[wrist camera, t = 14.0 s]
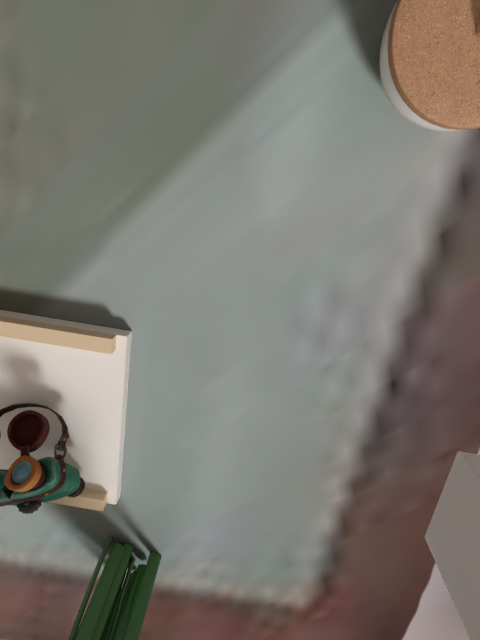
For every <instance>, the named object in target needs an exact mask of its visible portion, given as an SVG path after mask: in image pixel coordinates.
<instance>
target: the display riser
mask: <svg viewBox="0 0 480 640" xmlns="http://www.w3.org/2000/svg"><path fill="white" fill-rule="evenodd" d="M131 338H132V331H128V330H122V329H116V328H110V327H103V326H97V325H91V324H85V323H79V322H73V321H67V320H60V319H54V318H48V317H42V316H36V315H30V314H24V313H17V312H11V311H5V310H0V409H3V408H5V407H7V406H10V405H13V404H21V403H35V404H40V405H44V406H47V407H49V408H51V409H52V410H54V411H55V412H56V413H58V414H59V415H61V416H62V417H63V419H64V421H65V423H66V425H67V427H68V433H69V438H68V440H67V442H66V448H67V453H66V456H65V458H64V459H63V460H64V462H65V463H67V464H69V465H71V466H73V467H75V468H77V469H78V470H79V472H80V477H81V478H83V480H84V482H85V488H84V491H83V492H82V493H81V494H80V495H79V496H77V497H74V498H71V497H67V496H66V497H63V498H60V499H57V500H53V501H47V502H50V503H56V504H62V505H68V506H74V507H80V508H86V509H92V510H98V511H103V510H104V508H105V506H106V504H107V503H109V504H115V505H116V503H117V501H118V499H119V497H120V493H121V479H122V465H123V451H124V437H125V423H126V408H127V394H128V380H129V366H130V352H131ZM26 410H33V411H36V412H38V413H40V414H42V415H44V416H45V417H46V418H47V420H48V421H49V425H50V430H49V434H48V437H47V439H46V441H45V442H44V443H43V445H42V446H41V447H40V448H39V449H37V450H36V451H34V452H31V453H30V456H31V457H33V458H35V459H36V460H38V459H41V458H45V457H55V455H54V447H55V445H56V444H57V443H58V441H59V439H60V437H61V435H62V425H61V423H60V421H59V419H58V417H57V415H56V414H55V413H53V412H52V411H50V410H49V409H45V408H41V407H25V408H18V409H15V410H13V411H10V412H8V413H5V414H3V415H2V416H1V417H0V432H1V438H0V469H3V470H5V469H6V470H8V469H9V468H10V467H11V465H12V464H13V463H14V462H15V460H17V459H18V458H19V457H21V455H20V450H18V449H16V448H15V447H13V445H12V444H11V443H10V441H9V439H8V436H7V429H8V426H9V423H10V422H11V420H12V419H13V418H14V417H15V416H16V415H17V414H19V413H21V412H23V411H26ZM63 454H64V451H59V450H57V455H62V456H63Z"/></svg>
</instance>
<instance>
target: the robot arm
mask: <svg viewBox="0 0 480 640" xmlns="http://www.w3.org/2000/svg"><path fill="white" fill-rule="evenodd" d="M425 539H426V542H427V544H428V546H429V548H430V551H431V553H432V555H433V557H434V560H435V562H436V564H437V566H438V568H439V571H440V573H441V575H442V578H443V580H444V582H445V584H446V586H447V589H448V591H449V593H450V595H451V598H452V600H453V602H454V605H455V607H456V609H457V611H458V614H459V616H460V618H461V620H462V622H463V625H464V627H465V629H466V631H467V634H468V636H469V638H470V640H480V455H477V454H471V453H465V452H459V451H458V453H457V455H456V458H455V460H454V463H453V465H452V468H451V471H450V473H449V476H448V478H447V481H446V483H445V486H444V488H443V491H442V494H441V496H440V499H439V501H438V504H437V506H436V509H435V512H434V514H433V517H432V519H431V522H430V524H429V527H428V530H427V532H426V535H425Z"/></svg>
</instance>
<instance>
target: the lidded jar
mask: <svg viewBox="0 0 480 640" xmlns="http://www.w3.org/2000/svg"><path fill="white" fill-rule="evenodd" d="M379 65H380V77H381V81H382V85H383V88H384V91H385V93H386V96H387V98H388V99H389V101H390V103H391V104H392V106H393V107H394V108H395V109H396V111H397V112H398V113H399V114H400V115H402V116H403V117H404V118H405V119H407V120H408V121H410V122H412V123H414V124H416V125H418V126H420V127H423V128H427V129H430V130H438V131H459V130H468V129H476V128H480V0H397V2H396V4H395V6H394V8H393V10H392V12H391V14H390V16H389V19H388V22H387V25H386V27H385V30H384V33H383V38H382V43H381V48H380V61H379Z"/></svg>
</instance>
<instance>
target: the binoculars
mask: <svg viewBox="0 0 480 640" xmlns="http://www.w3.org/2000/svg"><path fill="white" fill-rule="evenodd" d="M25 407H41V408H45V409H49V410H50V411H52V412H53V413H55V414H56V415H57V417H58V419H59V421H60V423H61V425H62V435H61V437H60V439H59V441H58V443H57V444H56V445H55V447H54V455H55V457H45V458H41V459H38V460H36V459H35V458H33V457H31V456H30V453H31V452H34V451H36V450H37V449H39V448H40V447H41V446H42V445H43V443H44V442H45V441H46V439H47V437H48V434H49V430H50V425H49V421H48V420H47V418H46V417H45V416H44V415H42V414H40V413H38V412H36V411H33V410H26V411H23V412H21V413H19V414H17V415H16V416H15V417H14V418H13V419H12V420H11V422H10V423H9V426H8V429H7V436H8V439H9V441H10V443H11V444H12V445H13V447H15V448H16V449H18V450H20V455H21V457H19V458H18V459H17V460H15V462H14V463H13V464H12V465H11V467H10V468H9V469H8V470H6V469H5V470H3V469H0V506H5V505H15V506H17V508H19V511H20V512H23V513H26V514H28V513H33V512H34V511H37V510H38V508H39V507H40V506H41V502H47V501H53V500H57V499H60V498H63V497H66V496H67V497H71V498H74V497H77V496H79V495H80V494H81V493H82V492H83V491H84V488H85V482H84V480H83V478H81V477H80V472H79V470H78V469H77V468H75V467H73V466H71V465H69V464H67V463H65V462H64V460H63V459H64V458H65V456H66V453H67V448H66V442H67V440H68V438H69V433H68V427H67V425H66V423H65V421H64V419H63V417H62V416H61V415H59V414H58V413H56V412H55V411H54V410H52V409H51V408H49V407H47V406H44V405H40V404H35V403H21V404H13V405H10V406H7V407H5V408H3V409H0V417H1V416H2V415H3V414H5V413H8V412H10V411H13V410H15V409H18V408H25ZM0 438H1V432H0ZM57 450H59V451H64V454H63V456H62V455H57Z"/></svg>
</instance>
